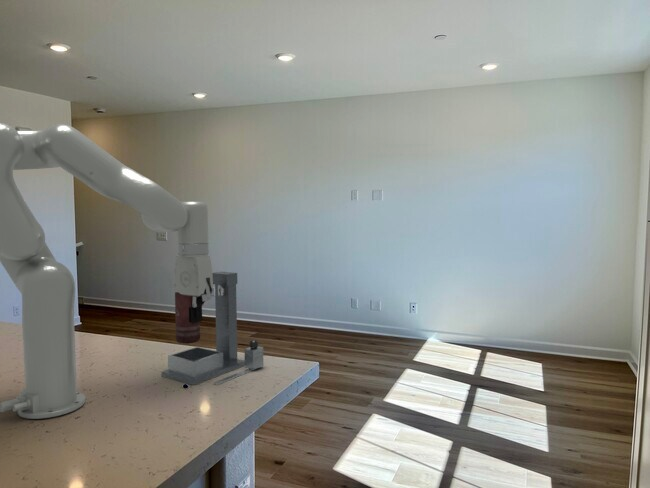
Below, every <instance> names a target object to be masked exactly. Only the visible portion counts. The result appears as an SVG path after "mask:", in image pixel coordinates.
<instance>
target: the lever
mask: <svg viewBox="0 0 650 488" xmlns="http://www.w3.org/2000/svg"><path fill="white" fill-rule="evenodd" d="M248 345H249V347H246V348H244V361H245V366H244V368H245V369H253V371H255V370H257V369H256V368H258V369H260V368H261V367H264V346H259V341H258V340H257V339H251V340H250V341H249V344H248ZM259 367H260V368H259ZM254 369H255V370H254Z"/></svg>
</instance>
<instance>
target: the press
mask: <svg viewBox="0 0 650 488" xmlns="http://www.w3.org/2000/svg"><path fill="white" fill-rule="evenodd" d="M212 274H213V285H214V294H215V295H214V297H215V298H214V299H215V301H214V302H215V305H214V306H215V347H216V348H215V349H210V348H205V347H201V346H195V347H191V348H189V349H185V350H182V351H178V352H176V353H173V354H169V355H167V365H168V366H167V369H165V370H163V371H161V377H163V378H167V379H169V380H170V379H171V380H174V381H177V382H182V383H185V384H188V385H192V386H196V385H198V384H200V383H203V382H206V381H208V380H212V379H214V378H216V377H218V376H219V377H220V376H221V375H224V374H228V373H229V372H232V371H235V370H237V369H239V368H242V367H245V359H238V325H237V324H238V321H237V319H238V317H237V314H238V313H237V309H238V308H237V307H238V306H237V285H238V272H233V271H232V272H229V271H218V272H217V271H216V272H212ZM260 368H261V367H259V368H256V369H254V370H253V369H248V368H245V369H244V370H241V371H239V372H236V373H234V374H231V375H229V376H227V377H224V378H222V379H221V378H220V379H219V380H217V381H213V385H215V386H218V385H220V384H223V383H225V382H228V381H230V380H234V379H236V378H238V377H241V376H243V375H246V374H247V373H250V372H253V371H255V370H258V369H260Z"/></svg>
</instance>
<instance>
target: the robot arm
mask: <svg viewBox="0 0 650 488" xmlns="http://www.w3.org/2000/svg"><path fill="white" fill-rule="evenodd" d="M52 168H54V169H55V168H61V169H62V170H64V171H65V172H67V173H69V174H70V175H71V176H73V177H74V178H76V179H78V180H79V181H81V183H83V184H85V185H86V186H88V187H89V188H90V189H92V190H93V191H94V192H96V193H97V194H99V195H101V196H104V197H105V198H107V199H110V200H114V201H116V202H119V203H123V204H125V205H126V206H129V207H131V208H132V209H134V210H136V211H137V212H139V213H141V220H142V222H143V224H144V226H146V227H147V228H148V229H149V230H152V231H155V232H167V233H169V232H170V233H172V232H173V233H174V232H177V255H176V258H175V261H174V271H173V272H174V273H173V291H174V294H175V293H176V292H179V293H180V294H182V295H186V296H193V303H192V306H193V307H191V308H190V307H189V322H190V323H197V322H200V323H201V322H203V307H204V305H205V302H206V301H210V300H212V296H211V294H212V293H213V291H214V284H213V274H212V273H213V268H212V261H211V257H210V254H209V250H210V249H209V218H208V216H209V215H208V214H209V213H208V211H209V210H208V205H207V204H206V203H205V202H203V201H191V200H190V201H180V200H179V199H178V198H177V197H175V196H174V195H173V194H171V193H170V192H169V191H167V190H166V189H165V188H163V187H162V186H160V185H159V184H158V183H156V182H155V181H153V180H151V179H149V178H148V177H146V176H144V175H143V174H141V173H139V172H137V171H136V170H134V169H132V168H131V167H129V166H126V165H125V164H124V163H122V162H121V161H119V160H118V159H117V158H115V157H114V156H113V155H111V154H110V153H108V152H107V151H106V150H105V149H104V148H102V147H101V146H99V145H98V144H97V143H95V142H94V141H92V139H90V138H89V137H88V136H86V135H85V134H84V133H82V132H81V131H79V130H78V129H77V128H75V127H74V126H71V125H69V124H66V123H57V124H54V125H51V126H49V127H48V128H45V129H42V130H41V129H40V130H17V129H16V128H14V127H12V126H11V125H10V124H6V123H3V122H0V263H1V265H2V267H3V269H4V270H5V271H6V273H7V274H8V276H9V278H10V279H11V281H12V282H13V283H14V285H15V287H16V288H17V290H18V291H19V292H20V294H21V309H22V311H21V314H22V315H21V324H22V325H21V326H22V327H21V328H22V329H21V330H22V345H23V347H22V348H23V365H24V366H23V367H24V368H23V369H24V388H25V389H23V390H20V391H19V395H17V396H15V398H14V399H8V400H5V401H2V402H0V413H5V412H8V411H10V410H11V411H12V412H17V415H18V416H19V417H20V418H24V419H27V420H28V419H31V420H36V419H37V420H39V419H49V418H56V417H59V416H63V415H66V414H69V413H71V412H74V411H76V410H79V409H80V408H81V407H83V405H84V404H85V403H86V396H85V394H84V393H82V392H78V386H77V383H78V382H77V359H76V356H77V355H76V335H75V334H76V333H75V299H76V284H75V278H74V276H73V273H72V272H71V271H70V269H69V268H68V267H67V266H66V265H65V264H62V263H61V262H58V261H57V259H56V258H55V256H54V254H53V253H52V251H51V250H50V248H49V246H48V244H47V243H46V235H45V234H46V233H45V232H44V229H43V226H42V225H41V224H40V223H39V222H38V220H37V219H36V217H35V216H34V214H33V212H32V210H31V209H30V207H29V205H27V202H26V201H25V199H24V197H23V196H22V195H23V194H22V193H21V191H20V189H19V188H18V186H17V184H16V182H15V178H14V171H19V170H21V171H22V170H23V171H24V170H41V169H44V170H45V169H52Z"/></svg>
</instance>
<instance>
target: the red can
mask: <svg viewBox="0 0 650 488" xmlns="http://www.w3.org/2000/svg"><path fill="white" fill-rule="evenodd" d="M174 302H175V303H174V305H175V306H174V309H175V311H174V312H175V313H174V314H175V316H174V317H175V341H176V342H177V343H178V344H195V343H197V342H199V341H200V339H201V322H197V323H190V322H189V307H190V308H191V307H193V306H192V303H193V296H186V295H182V294H180V293H179V292H176V293H175V292H174Z"/></svg>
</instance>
